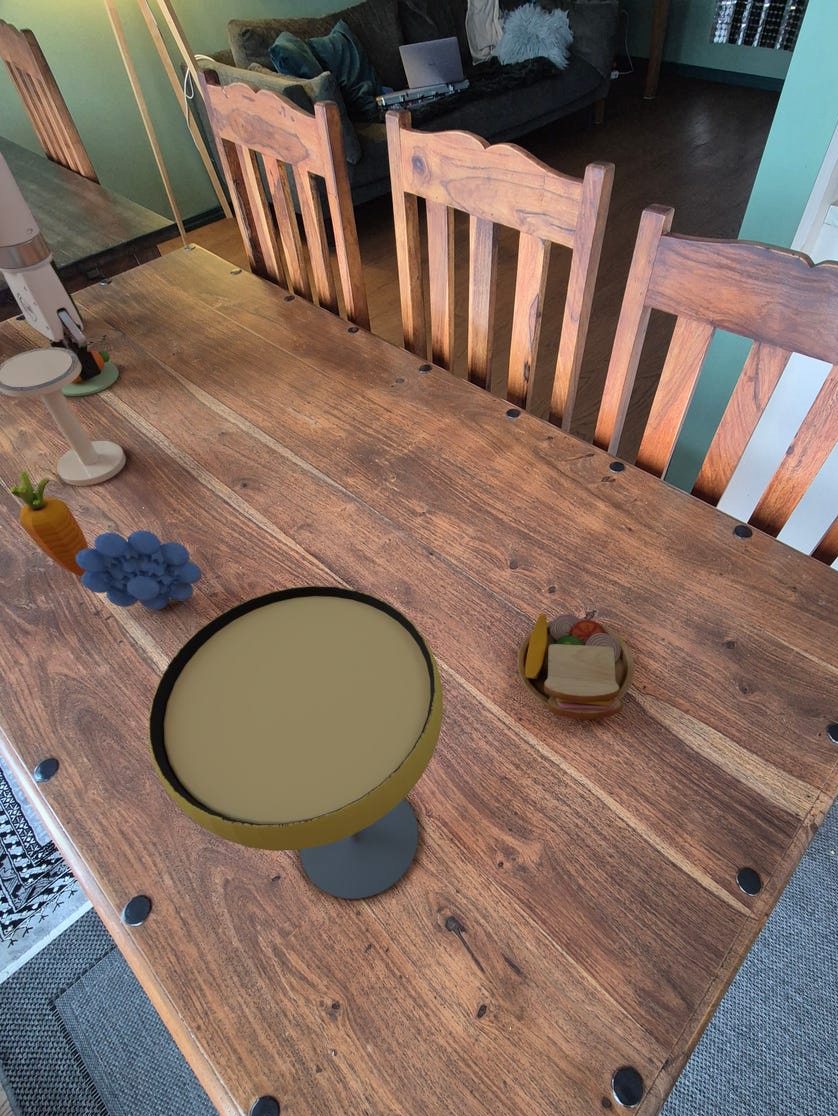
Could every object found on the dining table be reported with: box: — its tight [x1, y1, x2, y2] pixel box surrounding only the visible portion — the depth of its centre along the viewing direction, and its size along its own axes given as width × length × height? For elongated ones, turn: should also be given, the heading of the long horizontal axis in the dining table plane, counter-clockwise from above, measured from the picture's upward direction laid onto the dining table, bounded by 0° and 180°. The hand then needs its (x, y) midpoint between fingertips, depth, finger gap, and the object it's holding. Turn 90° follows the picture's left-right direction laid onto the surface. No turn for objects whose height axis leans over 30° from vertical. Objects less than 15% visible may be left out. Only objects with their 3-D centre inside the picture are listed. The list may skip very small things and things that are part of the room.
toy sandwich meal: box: [516, 613, 635, 720], centre depth 70 cm, size 12×14×5 cm
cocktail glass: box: [147, 585, 444, 900], centre depth 51 cm, size 18×18×25 cm
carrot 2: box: [71, 349, 111, 383], centre depth 107 cm, size 8×4×4 cm, turn 138°
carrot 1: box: [10, 471, 89, 577], centre depth 75 cm, size 5×5×15 cm
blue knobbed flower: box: [76, 529, 202, 611], centre depth 73 cm, size 12×7×12 cm, turn 112°
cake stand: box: [0, 346, 127, 487], centre depth 89 cm, size 10×10×15 cm
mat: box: [61, 361, 120, 397], centre depth 108 cm, size 10×10×1 cm
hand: (81, 368), depth 107 cm, fingers open, 5 cm apart
